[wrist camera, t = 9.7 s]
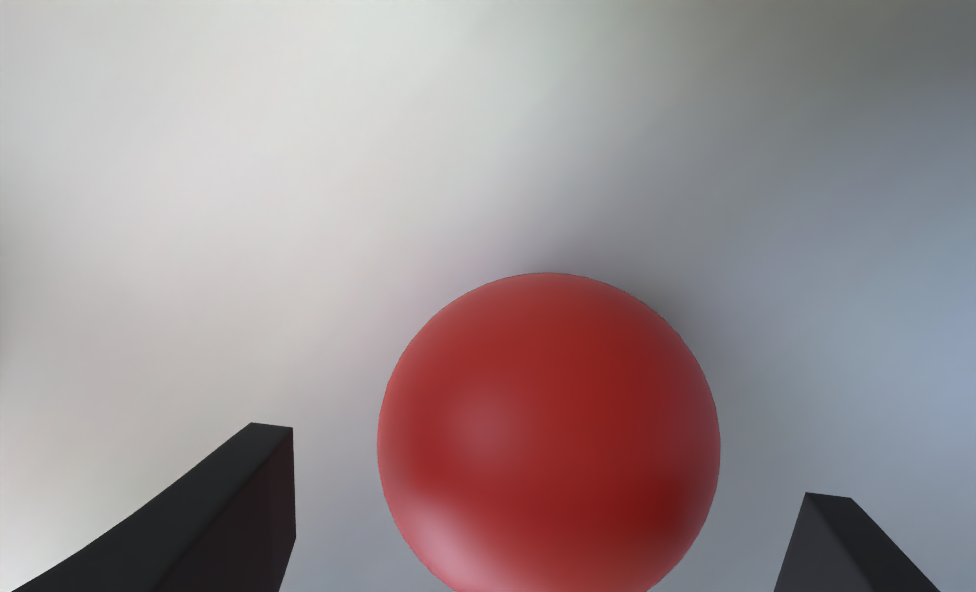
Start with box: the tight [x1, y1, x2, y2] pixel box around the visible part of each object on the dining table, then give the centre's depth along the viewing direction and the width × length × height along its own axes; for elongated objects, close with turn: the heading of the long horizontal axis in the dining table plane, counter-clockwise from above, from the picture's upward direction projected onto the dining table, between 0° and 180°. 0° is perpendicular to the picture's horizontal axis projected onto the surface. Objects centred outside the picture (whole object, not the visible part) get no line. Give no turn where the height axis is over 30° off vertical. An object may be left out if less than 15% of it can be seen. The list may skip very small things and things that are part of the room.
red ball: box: [377, 273, 720, 592], centre depth 13 cm, size 5×5×6 cm
